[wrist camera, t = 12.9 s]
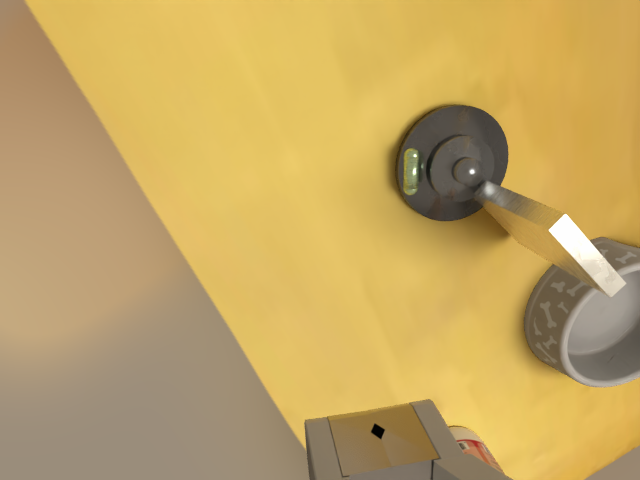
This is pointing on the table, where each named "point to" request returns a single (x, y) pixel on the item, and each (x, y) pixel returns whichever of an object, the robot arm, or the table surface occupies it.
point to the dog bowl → (588, 321)
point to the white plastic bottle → (473, 445)
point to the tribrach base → (423, 142)
